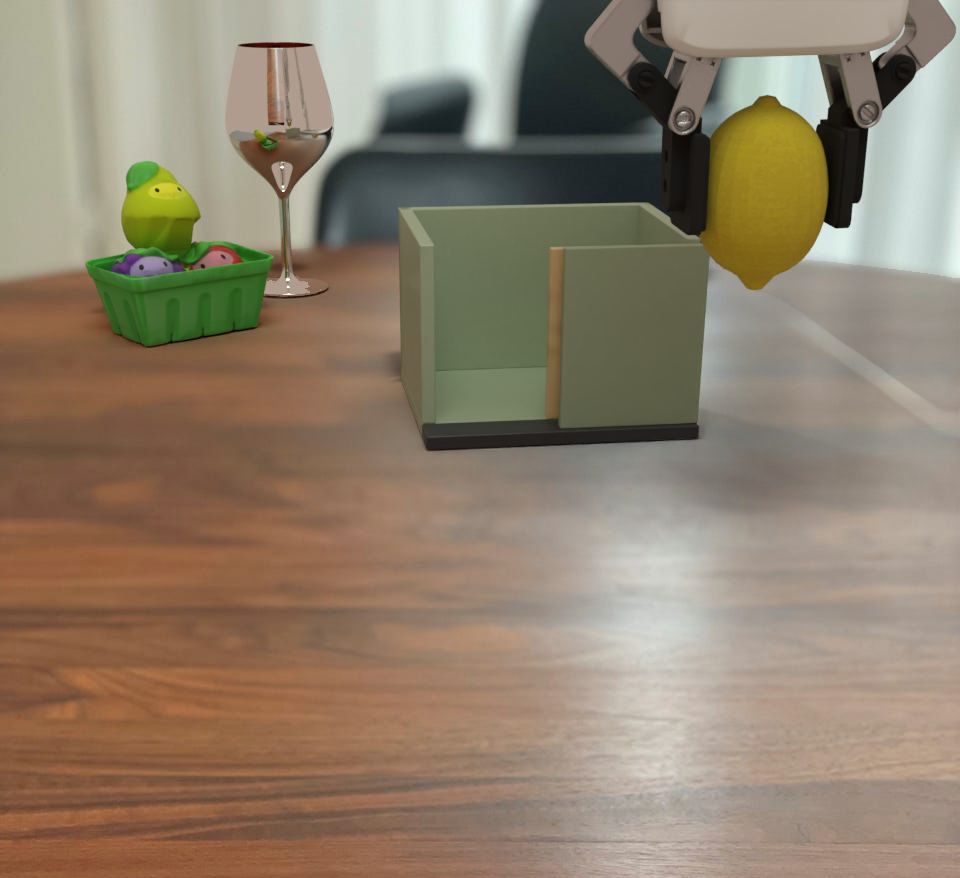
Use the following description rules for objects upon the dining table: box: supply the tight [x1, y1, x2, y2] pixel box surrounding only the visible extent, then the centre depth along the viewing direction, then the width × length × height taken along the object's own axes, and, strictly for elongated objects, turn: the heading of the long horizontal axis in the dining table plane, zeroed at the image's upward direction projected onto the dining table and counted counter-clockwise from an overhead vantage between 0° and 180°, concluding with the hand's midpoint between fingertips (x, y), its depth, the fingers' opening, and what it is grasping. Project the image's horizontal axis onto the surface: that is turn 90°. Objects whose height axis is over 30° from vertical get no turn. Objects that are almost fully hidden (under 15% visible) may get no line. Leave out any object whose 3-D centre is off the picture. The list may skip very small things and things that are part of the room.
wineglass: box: [224, 41, 335, 296], centre depth 115 cm, size 8×8×18 cm
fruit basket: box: [84, 160, 274, 347], centre depth 105 cm, size 11×9×11 cm
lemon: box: [698, 94, 829, 291], centre depth 63 cm, size 6×6×8 cm
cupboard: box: [397, 201, 711, 451], centre depth 88 cm, size 16×14×11 cm
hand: (758, 221), depth 63 cm, fingers closed on lemon, 5 cm apart
